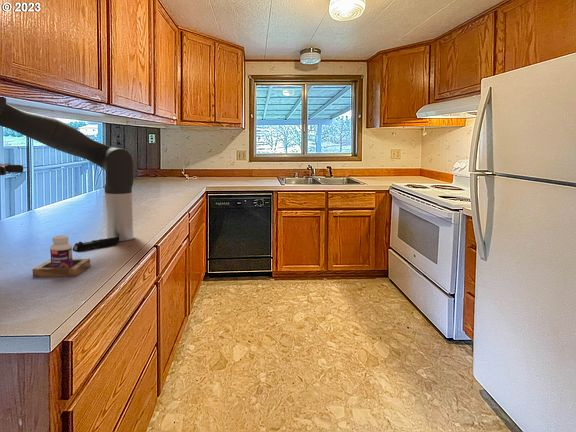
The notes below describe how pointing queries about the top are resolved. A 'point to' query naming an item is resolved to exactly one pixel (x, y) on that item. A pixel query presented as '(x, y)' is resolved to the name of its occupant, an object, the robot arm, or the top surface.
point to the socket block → (48, 271)
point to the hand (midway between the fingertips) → (14, 169)
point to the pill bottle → (61, 252)
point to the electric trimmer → (95, 244)
